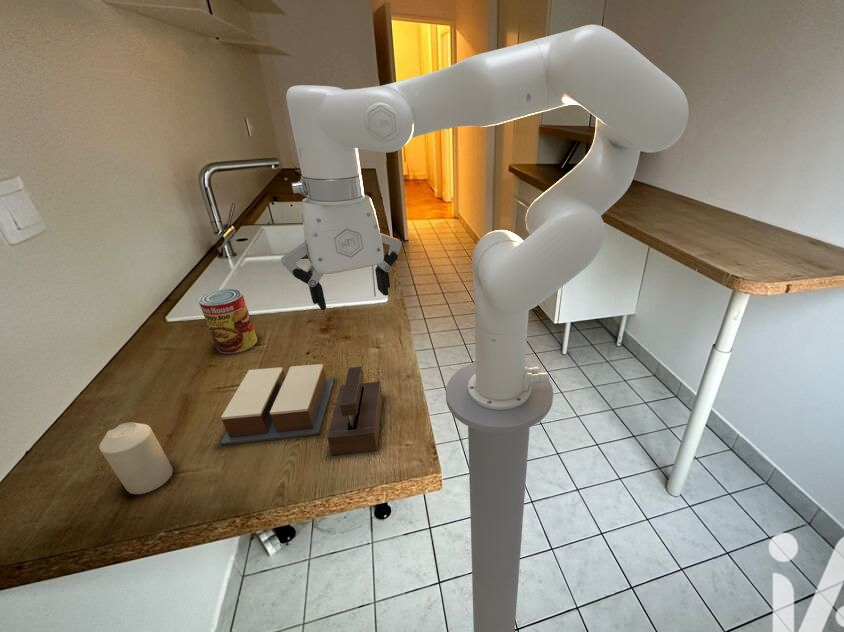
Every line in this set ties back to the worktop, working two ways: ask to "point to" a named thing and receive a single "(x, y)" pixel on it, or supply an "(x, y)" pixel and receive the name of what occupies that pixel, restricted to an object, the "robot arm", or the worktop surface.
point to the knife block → (367, 427)
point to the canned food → (228, 320)
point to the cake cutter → (352, 395)
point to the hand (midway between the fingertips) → (353, 299)
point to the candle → (136, 457)
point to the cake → (277, 404)
